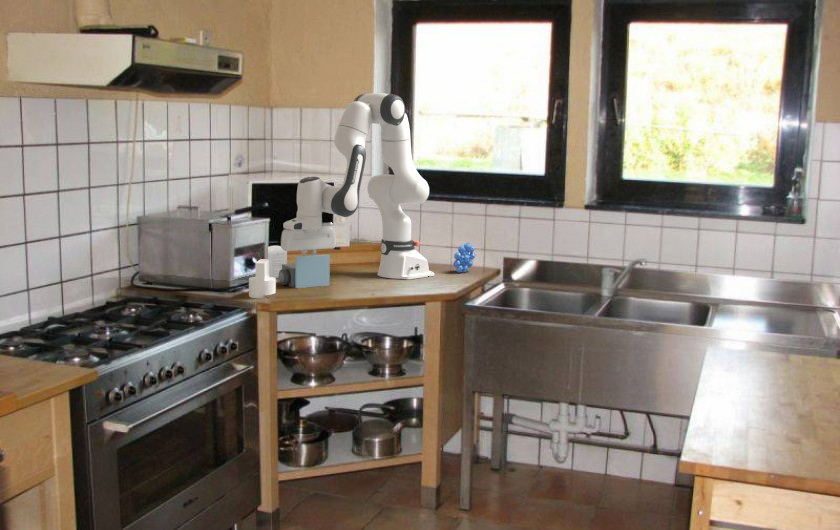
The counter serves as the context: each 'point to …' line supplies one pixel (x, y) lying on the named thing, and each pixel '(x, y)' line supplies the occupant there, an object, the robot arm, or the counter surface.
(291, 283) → the camera body
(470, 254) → the grapes
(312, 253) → the robot arm
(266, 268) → the base with upright slab
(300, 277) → the side door
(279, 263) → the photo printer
